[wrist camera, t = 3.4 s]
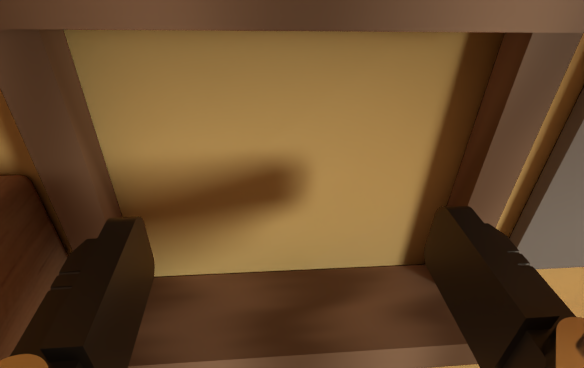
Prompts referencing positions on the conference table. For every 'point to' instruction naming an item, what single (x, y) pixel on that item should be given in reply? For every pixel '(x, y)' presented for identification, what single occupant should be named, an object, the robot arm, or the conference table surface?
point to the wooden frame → (305, 283)
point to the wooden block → (24, 258)
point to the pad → (557, 203)
